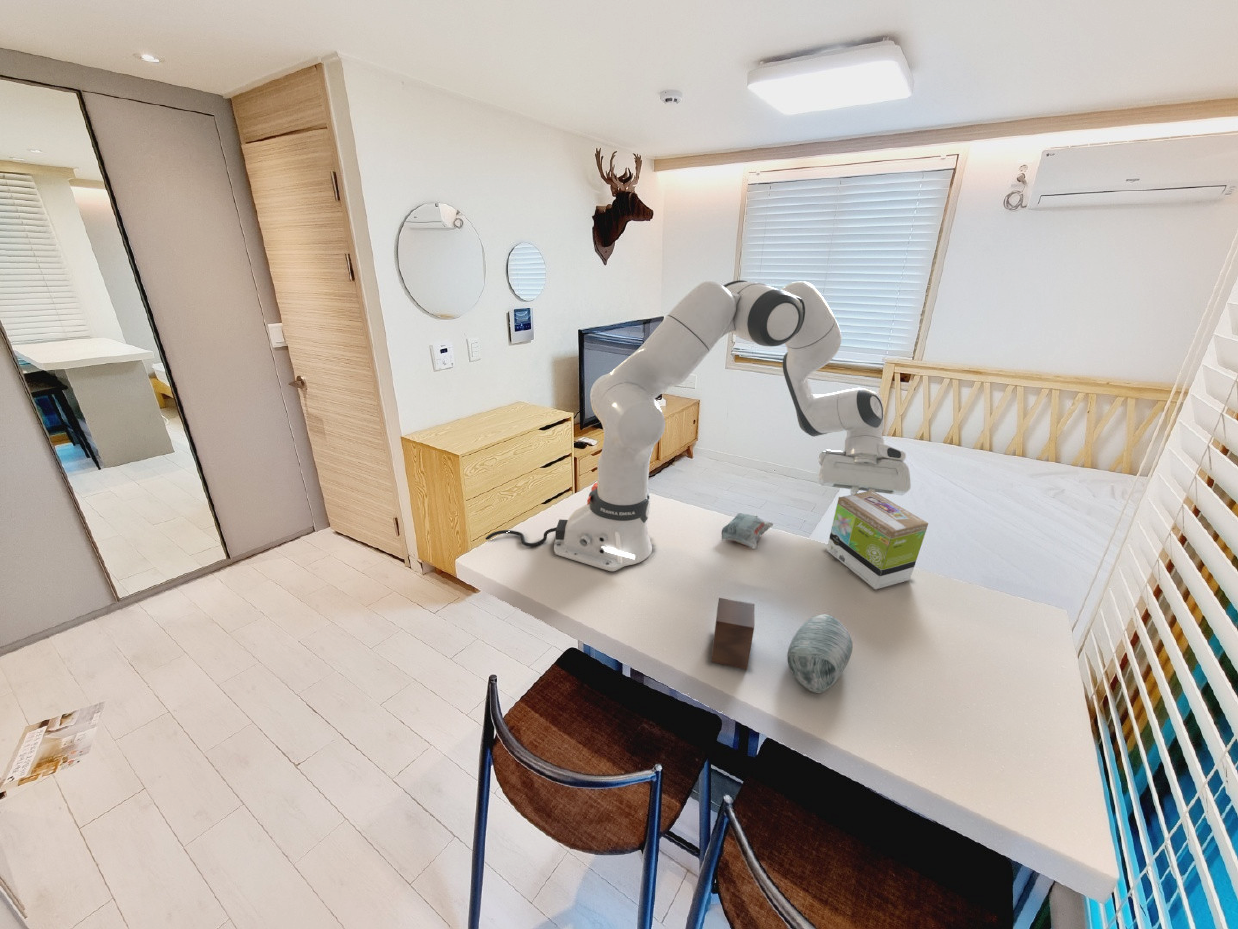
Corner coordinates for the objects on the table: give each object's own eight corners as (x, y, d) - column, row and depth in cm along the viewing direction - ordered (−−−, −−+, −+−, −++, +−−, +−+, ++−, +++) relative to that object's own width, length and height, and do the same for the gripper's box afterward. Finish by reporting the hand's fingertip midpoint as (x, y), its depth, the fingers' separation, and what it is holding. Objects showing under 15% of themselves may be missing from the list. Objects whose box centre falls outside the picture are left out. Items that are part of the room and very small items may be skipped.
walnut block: (711, 662, 85) (716, 621, 81) (713, 637, 90) (718, 597, 87) (747, 669, 84) (754, 628, 80) (747, 644, 89) (754, 603, 85)
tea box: (824, 551, 116) (837, 495, 110) (858, 543, 119) (872, 488, 113) (875, 591, 103) (893, 530, 97) (911, 581, 106) (931, 521, 100)
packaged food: (771, 533, 123) (774, 515, 121) (753, 556, 114) (756, 537, 112) (737, 522, 127) (739, 505, 125) (718, 543, 118) (720, 525, 116)
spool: (841, 703, 74) (828, 635, 75) (781, 694, 81) (769, 632, 81) (869, 670, 84) (857, 610, 85) (813, 664, 91) (803, 609, 91)
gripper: (822, 444, 124) (819, 497, 119) (913, 453, 119) (913, 509, 115) (817, 453, 130) (813, 504, 125) (903, 463, 125) (903, 516, 121)
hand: (862, 507), depth 120 cm, fingers closed
